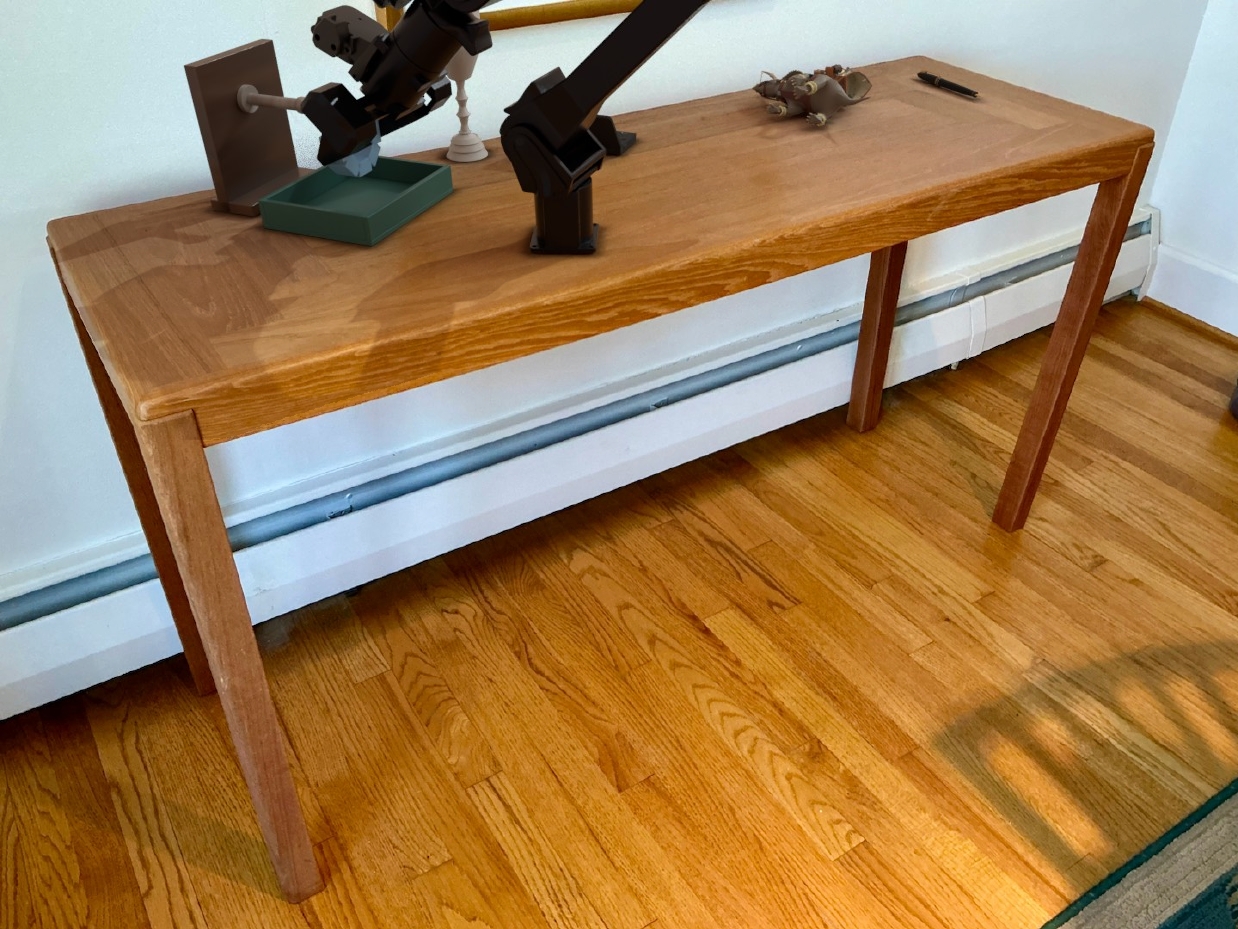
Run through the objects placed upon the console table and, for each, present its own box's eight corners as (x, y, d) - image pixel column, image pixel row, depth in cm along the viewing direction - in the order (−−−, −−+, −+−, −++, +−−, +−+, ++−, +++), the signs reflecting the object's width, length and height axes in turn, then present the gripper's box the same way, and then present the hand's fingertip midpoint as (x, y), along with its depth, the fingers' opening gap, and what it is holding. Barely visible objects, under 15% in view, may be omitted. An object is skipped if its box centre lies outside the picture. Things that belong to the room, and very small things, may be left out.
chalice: (441, 145, 123) (423, -12, 113) (496, 144, 124) (483, -14, 113) (437, 165, 118) (417, 1, 107) (494, 163, 118) (480, -1, 107)
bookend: (639, 121, 125) (619, 68, 116) (635, 171, 123) (615, 121, 114) (552, 129, 128) (527, 78, 119) (547, 177, 126) (520, 130, 117)
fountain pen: (987, 101, 137) (989, 90, 136) (980, 103, 137) (982, 91, 136) (919, 77, 148) (920, 66, 147) (912, 78, 147) (914, 67, 146)
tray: (453, 191, 111) (450, 164, 109) (372, 246, 98) (367, 217, 97) (353, 176, 115) (349, 151, 113) (263, 227, 102) (257, 200, 101)
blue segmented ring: (384, 163, 106) (375, 96, 102) (347, 185, 101) (335, 115, 97) (365, 160, 107) (354, 94, 103) (326, 182, 102) (313, 112, 98)
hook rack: (359, 185, 112) (336, 45, 104) (293, 223, 103) (262, 73, 95) (282, 174, 116) (253, 37, 107) (212, 210, 107) (175, 64, 98)
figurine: (723, 69, 132) (792, 46, 142) (723, 116, 135) (790, 90, 146) (858, 85, 120) (921, 59, 131) (853, 136, 124) (916, 107, 134)
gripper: (412, -39, 99) (339, 67, 109) (296, -3, 85) (224, 115, 95) (489, 51, 101) (410, 147, 111) (388, 100, 87) (309, 205, 97)
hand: (342, 151), depth 103 cm, fingers closed on blue segmented ring, 7 cm apart
